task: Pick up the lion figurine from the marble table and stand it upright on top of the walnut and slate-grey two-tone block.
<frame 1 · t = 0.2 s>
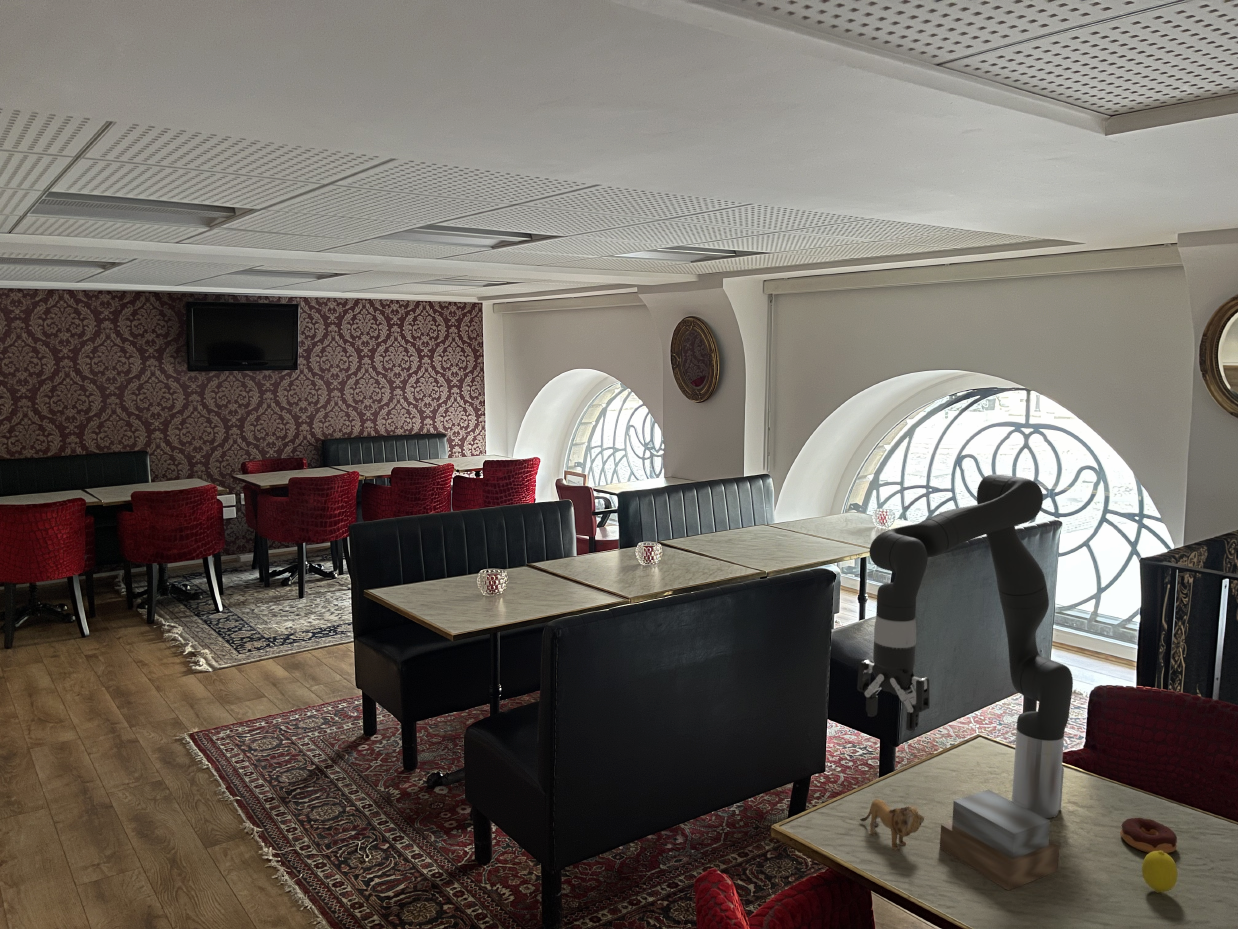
hand: (891, 722, 172), 28 cm above the table, tool pointing down, fingers open, 8 cm apart
donut: (1147, 845, 182), on the table
two-tone block: (997, 859, 176), on the table
lion figurine: (890, 840, 183), on the table
lemon: (1157, 893, 166), on the table
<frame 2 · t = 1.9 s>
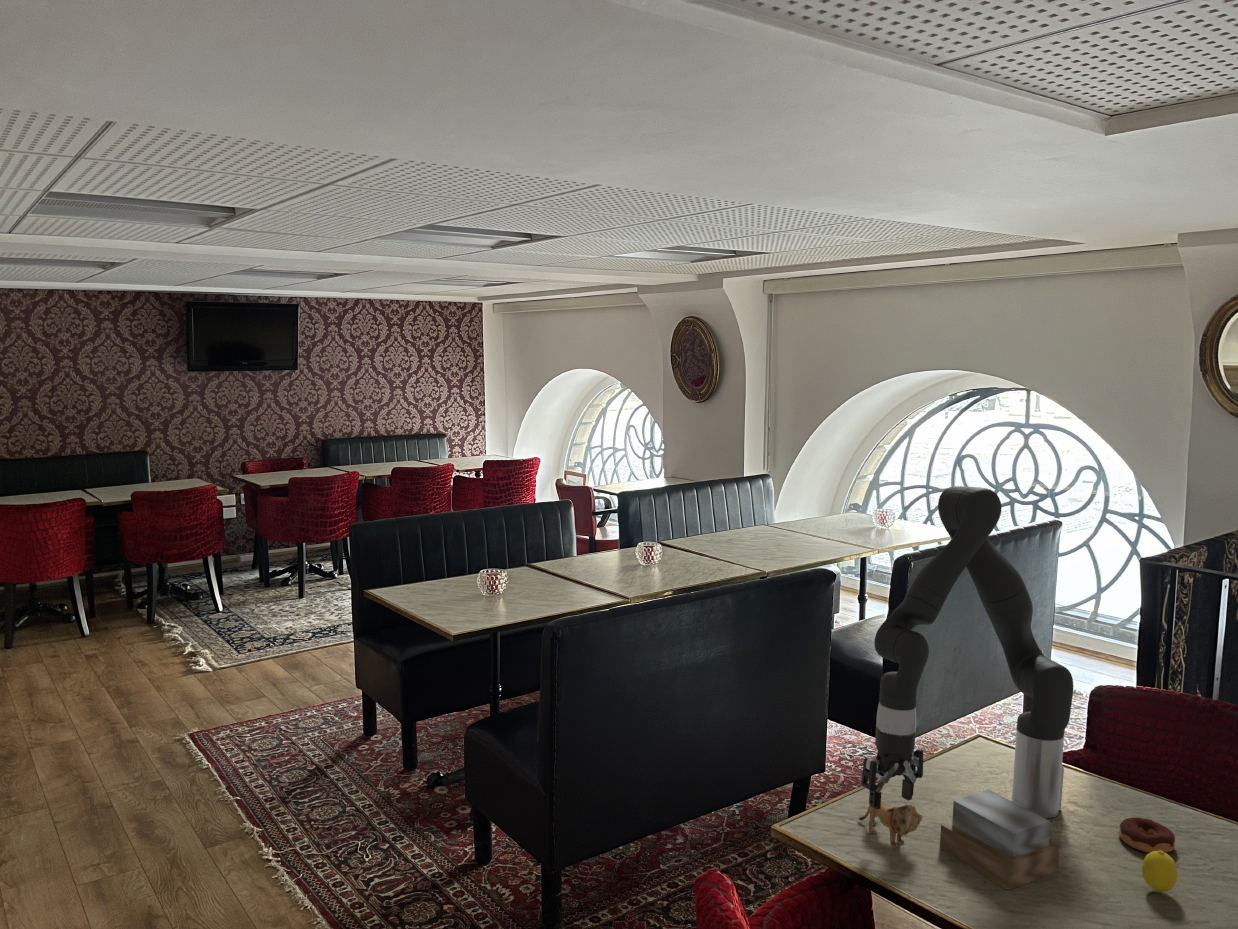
hand: (890, 803, 182), 8 cm above the table, tool pointing down, fingers open, 8 cm apart
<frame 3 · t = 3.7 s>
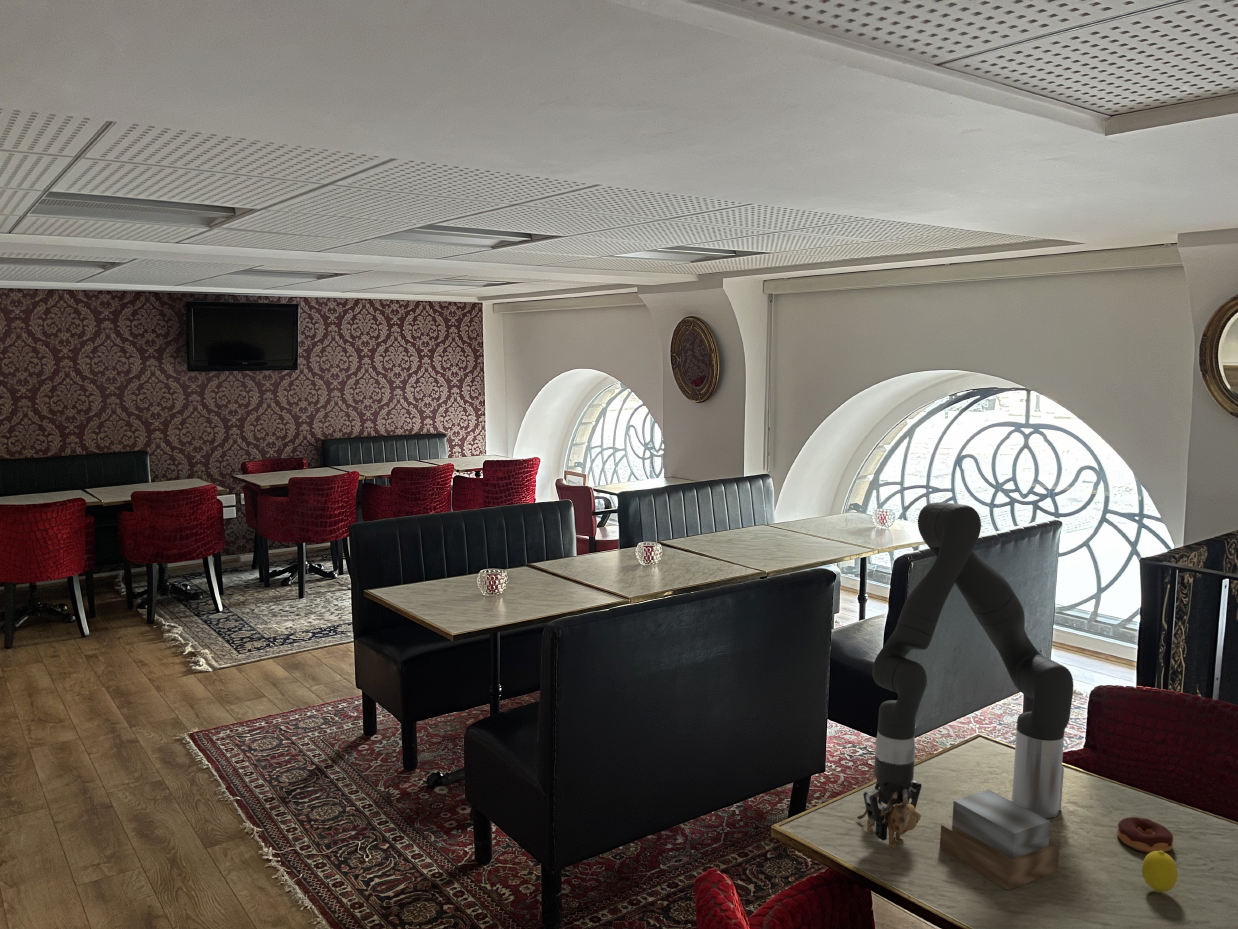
hand: (890, 835, 183), 1 cm above the table, tool pointing down, fingers closed on lion figurine, 4 cm apart
lion figurine: (887, 837, 184), on the table, touching gripper
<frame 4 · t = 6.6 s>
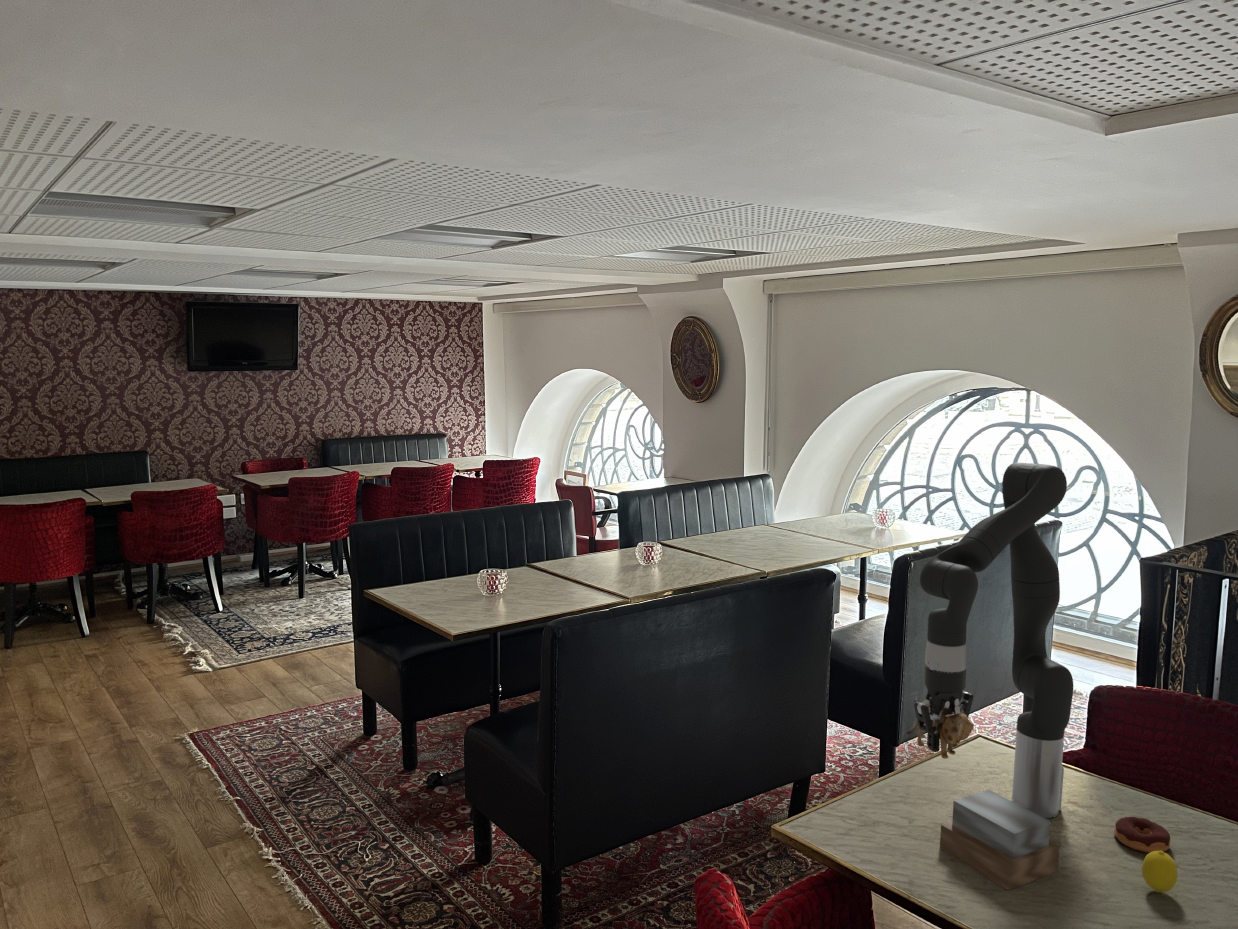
hand: (942, 747, 178), 21 cm above the table, tool pointing down, fingers closed on lion figurine, 4 cm apart
lion figurine: (939, 750, 179), point 20 cm above the table, touching gripper
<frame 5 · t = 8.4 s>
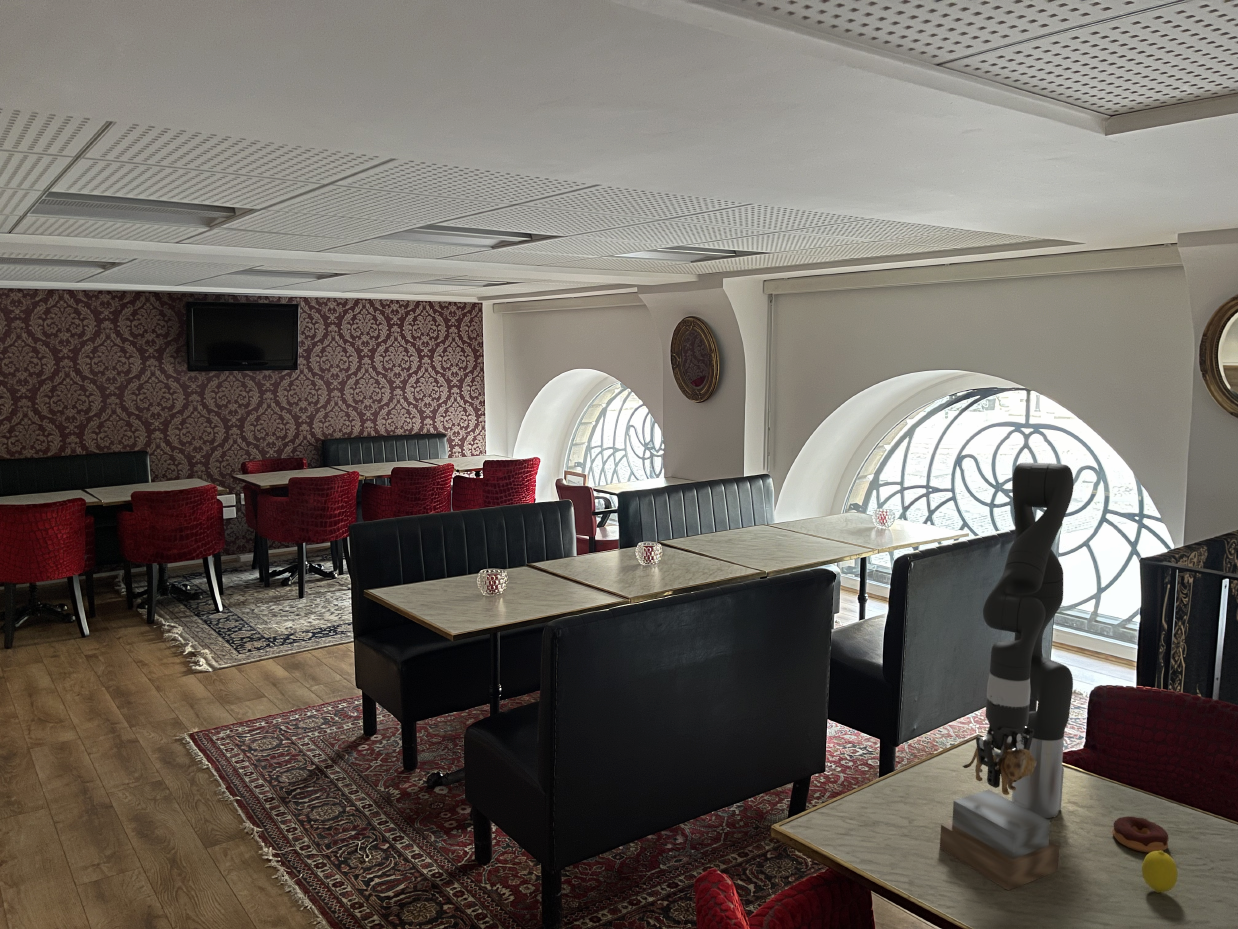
hand: (1002, 783, 174), 16 cm above the table, tool pointing down, fingers closed on lion figurine, 4 cm apart
lion figurine: (998, 785, 175), point 14 cm above the table, touching gripper
when the fingers open (12 cm above the table, at t = 9.8 s): lion figurine drops 1 cm, resting on two-tone block.
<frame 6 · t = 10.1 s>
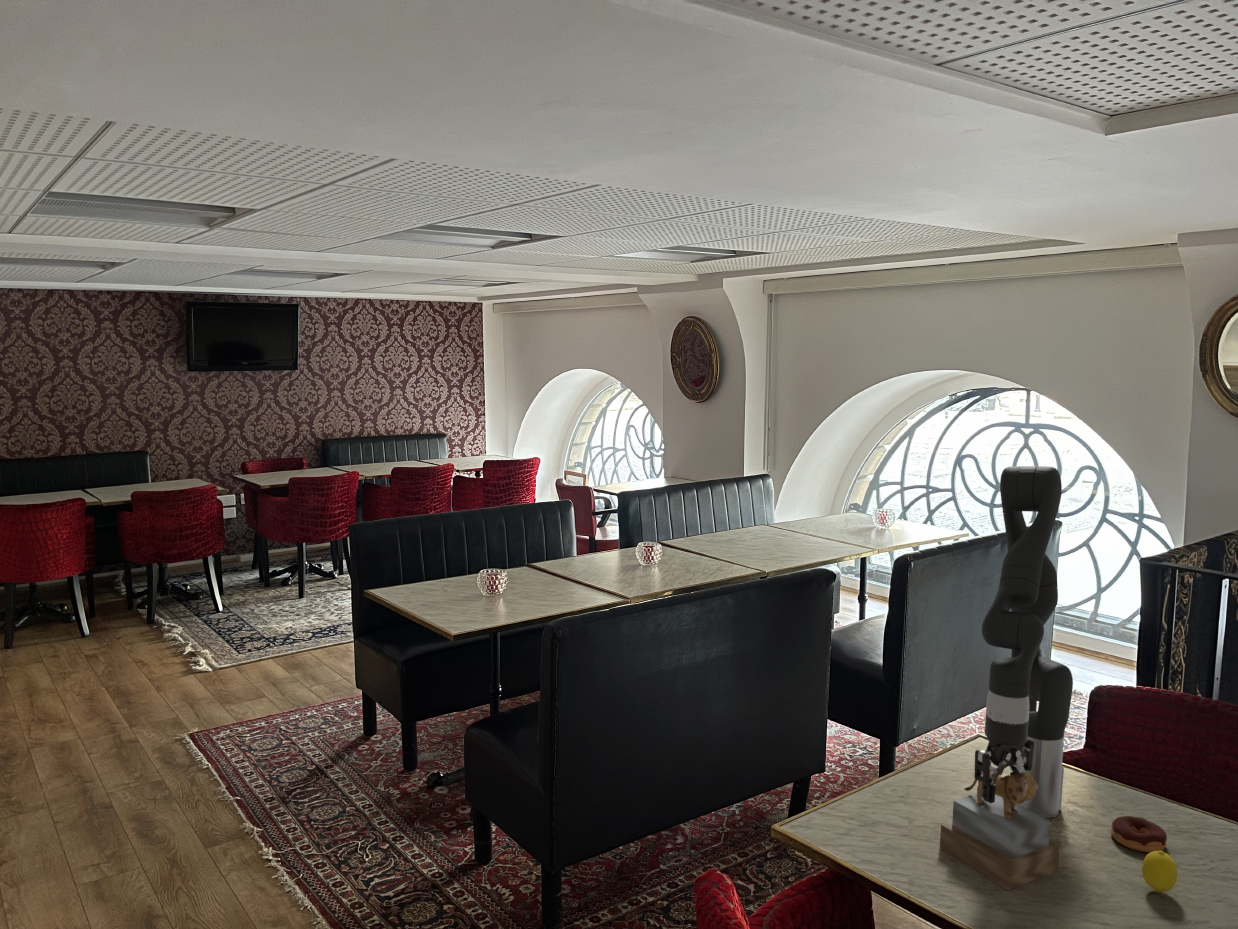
hand: (1001, 796, 174), 13 cm above the table, tool pointing down, fingers open, 7 cm apart
lion figurine: (1000, 809, 176), point 10 cm above the table, touching two-tone block
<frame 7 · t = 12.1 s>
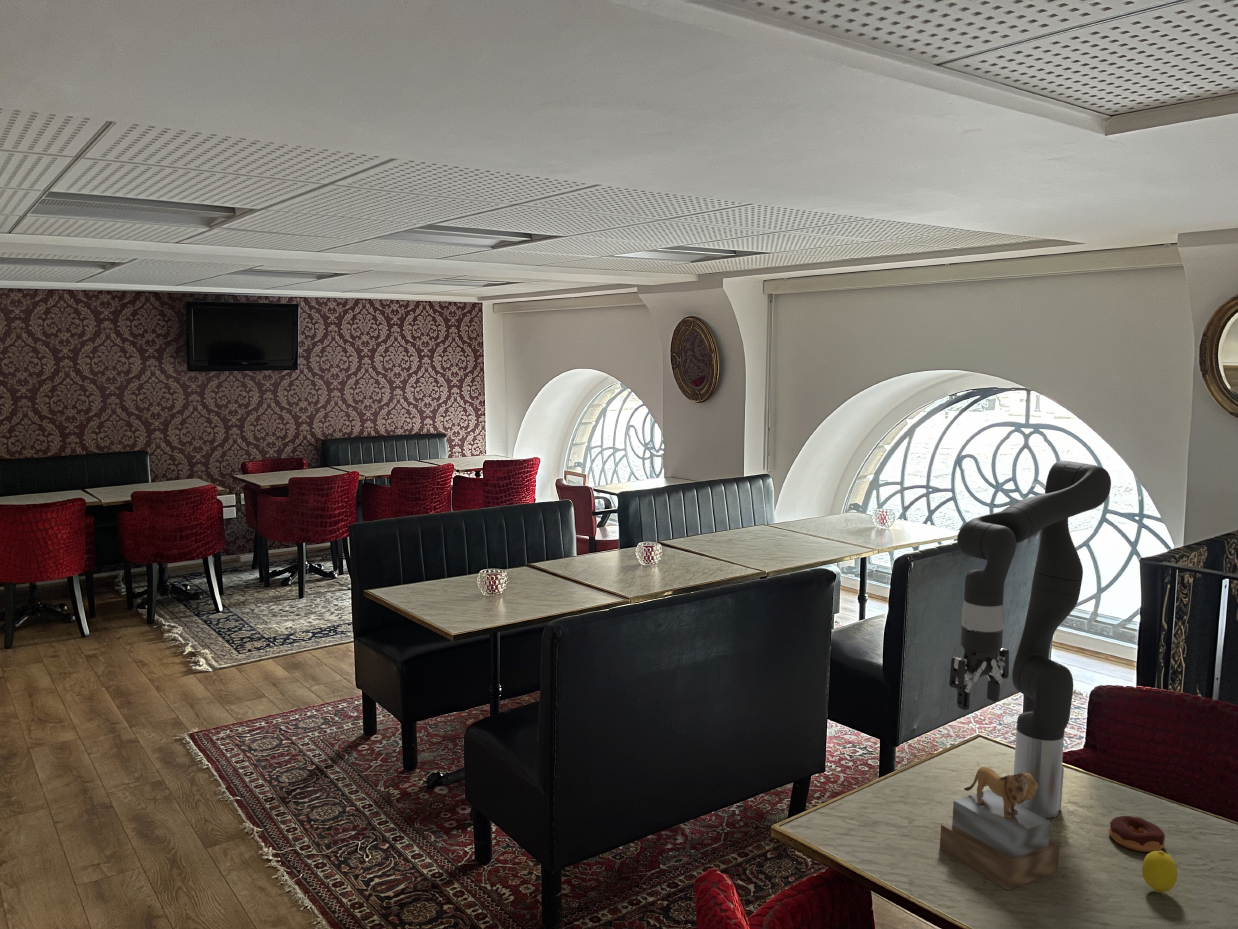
hand: (978, 704, 178), 29 cm above the table, tool pointing down, fingers open, 8 cm apart
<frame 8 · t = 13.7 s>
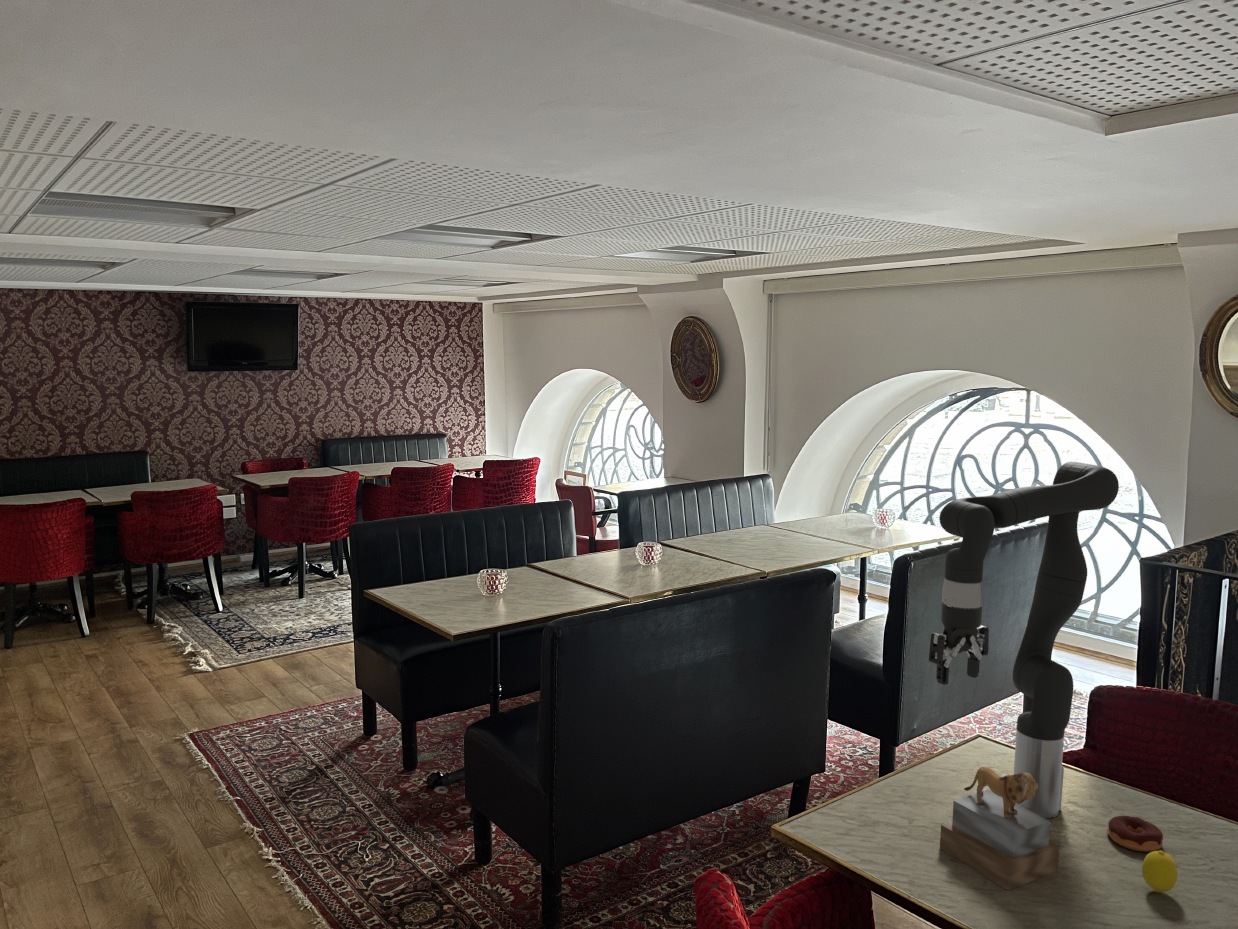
hand: (957, 680, 182), 32 cm above the table, tool pointing down, fingers open, 8 cm apart
at the end: lion figurine inside the target area on the two-tone block (1.1 cm from its centre), point 9.8 cm above the two-tone block's base; lion figurine tilted 0°; the gripper is holding nothing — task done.
